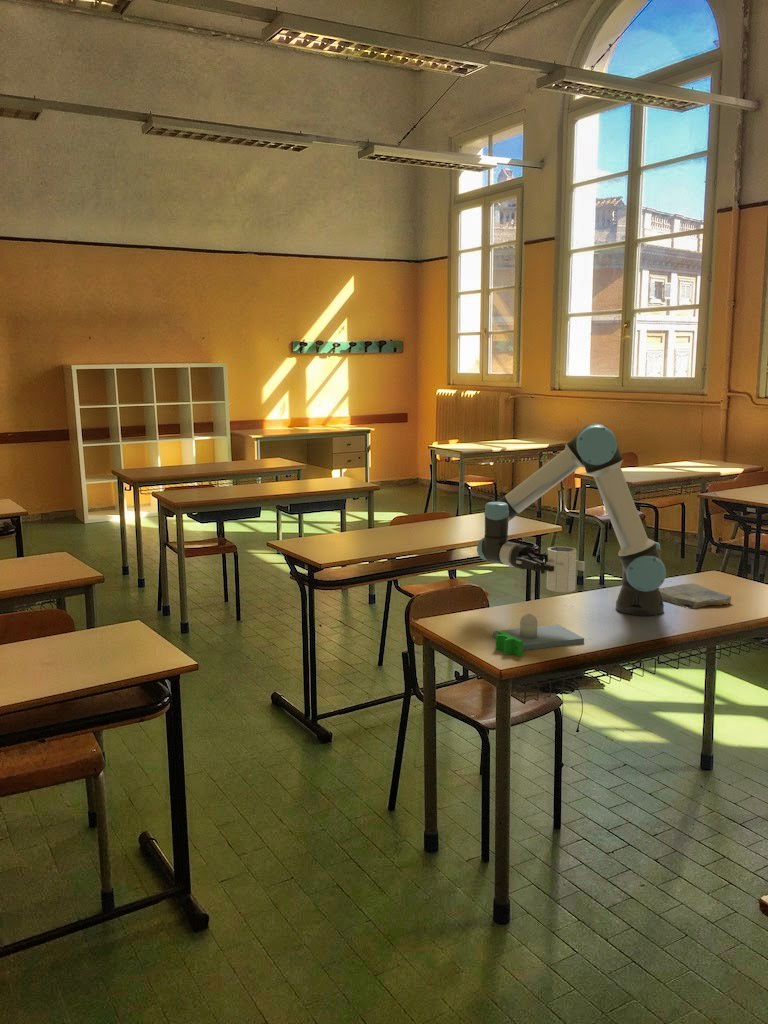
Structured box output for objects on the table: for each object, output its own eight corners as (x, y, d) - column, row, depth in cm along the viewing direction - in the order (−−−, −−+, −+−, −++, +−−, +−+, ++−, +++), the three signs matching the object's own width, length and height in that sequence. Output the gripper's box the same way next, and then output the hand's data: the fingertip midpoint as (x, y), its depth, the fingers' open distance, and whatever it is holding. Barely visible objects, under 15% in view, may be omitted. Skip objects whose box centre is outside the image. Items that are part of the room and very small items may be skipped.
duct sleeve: (559, 584, 261) (560, 545, 260) (580, 589, 255) (582, 549, 253) (541, 587, 257) (542, 548, 255) (562, 593, 250) (563, 553, 248)
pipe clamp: (489, 647, 246) (489, 632, 245) (501, 646, 247) (501, 630, 247) (511, 658, 236) (511, 642, 235) (522, 656, 237) (523, 640, 237)
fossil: (695, 614, 282) (735, 605, 289) (695, 601, 281) (734, 592, 288) (653, 602, 300) (691, 593, 307) (653, 589, 299) (690, 581, 306)
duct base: (558, 629, 262) (558, 603, 261) (584, 643, 248) (584, 616, 247) (492, 636, 256) (492, 610, 254) (515, 651, 242) (515, 623, 240)
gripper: (540, 563, 276) (596, 576, 258) (493, 572, 263) (548, 586, 245) (541, 540, 275) (597, 551, 257) (493, 548, 262) (549, 560, 244)
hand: (573, 568), depth 251 cm, fingers closed on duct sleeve, 8 cm apart
